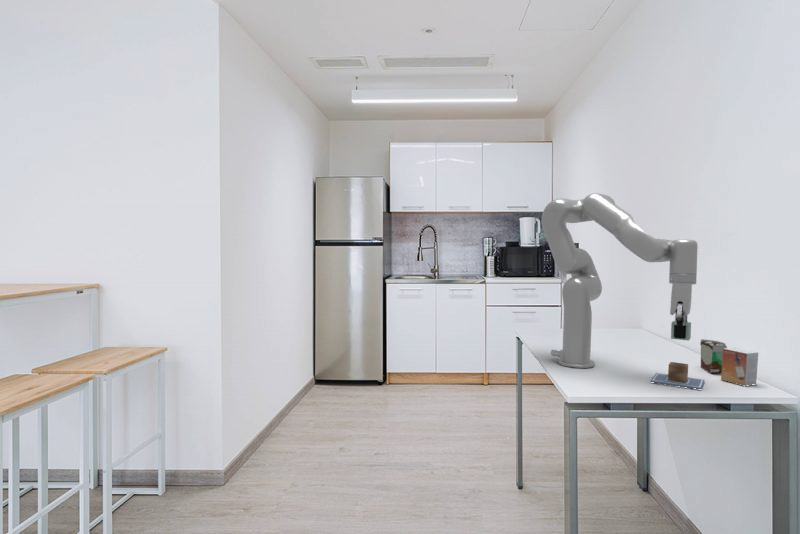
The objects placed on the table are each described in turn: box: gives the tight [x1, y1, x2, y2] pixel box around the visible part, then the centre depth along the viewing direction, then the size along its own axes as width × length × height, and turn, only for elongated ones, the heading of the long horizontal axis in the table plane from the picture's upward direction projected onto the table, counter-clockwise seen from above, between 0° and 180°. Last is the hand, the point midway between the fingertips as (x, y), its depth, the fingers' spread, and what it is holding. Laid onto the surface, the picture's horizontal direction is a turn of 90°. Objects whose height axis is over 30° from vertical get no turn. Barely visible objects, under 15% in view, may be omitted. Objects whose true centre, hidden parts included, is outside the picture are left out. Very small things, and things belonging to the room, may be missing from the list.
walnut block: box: [667, 361, 689, 383], centre depth 167 cm, size 5×5×5 cm
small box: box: [720, 347, 759, 385], centre depth 168 cm, size 8×6×10 cm
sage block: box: [670, 320, 692, 341], centre depth 166 cm, size 5×5×5 cm
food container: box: [700, 339, 728, 375], centre depth 182 cm, size 12×6×10 cm, turn 168°
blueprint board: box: [650, 372, 706, 390], centre depth 167 cm, size 14×12×1 cm
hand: (680, 336), depth 166 cm, fingers closed on sage block, 4 cm apart
